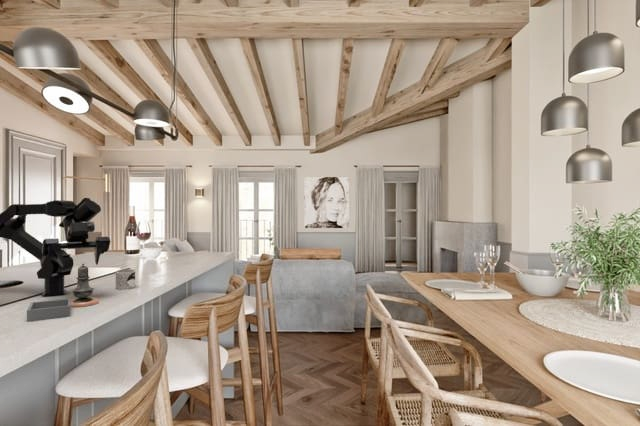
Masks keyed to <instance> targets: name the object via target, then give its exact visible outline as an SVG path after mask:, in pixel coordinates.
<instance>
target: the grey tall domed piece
mask: <svg viewBox="0 0 640 426" xmlns="http://www.w3.org/2000/svg"><path fill="white" fill-rule="evenodd" d="M89 279H90V276H89V267H88V266H85V264H84V263H82V265H81V266H79V267H78V268H77V277H76V280H77V285H76V288H74V289H71V292H72V294H73V296H74V297H75V300H74V299H73V300H74V301H73V302H75V303H82V302H88V301H92V300H93V299H92V298H89V297H90V296H91V295H92V294H93V292H94V291H93V290H94V287H91V286H90V284H89V282H90V281H89Z"/></svg>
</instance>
